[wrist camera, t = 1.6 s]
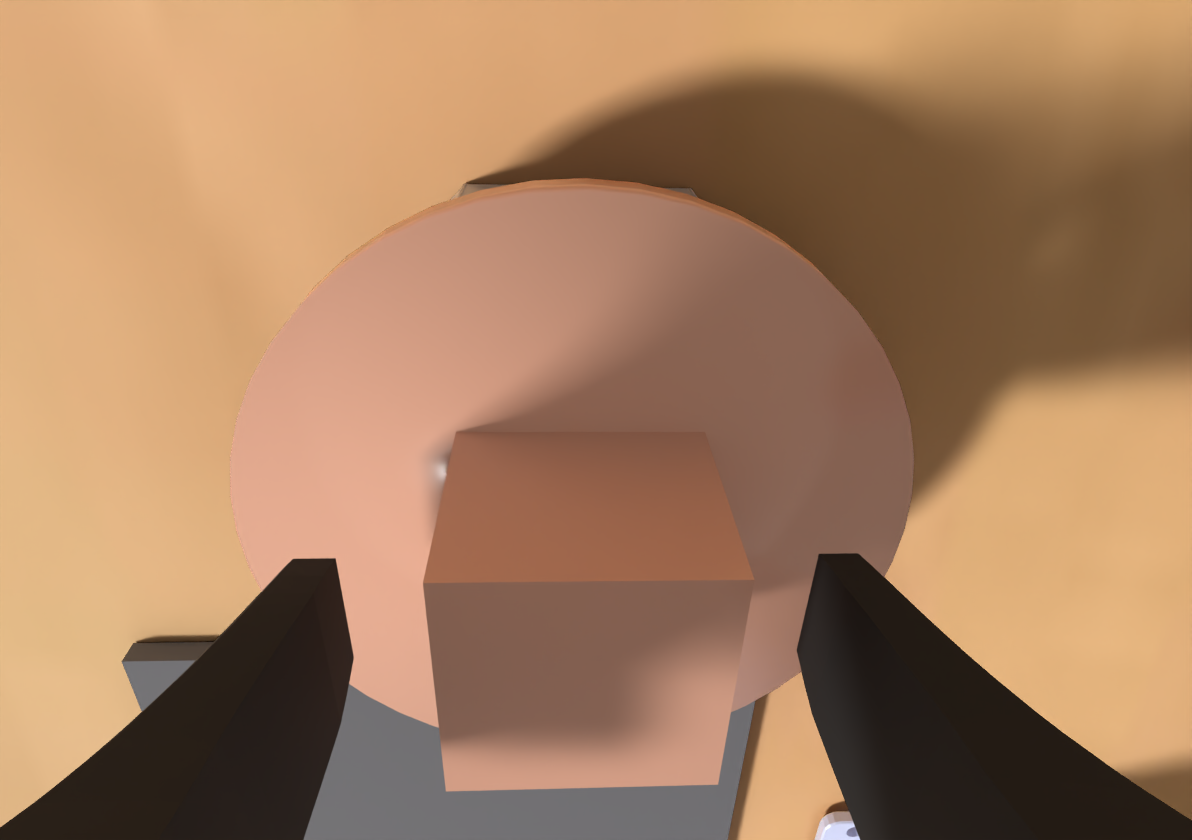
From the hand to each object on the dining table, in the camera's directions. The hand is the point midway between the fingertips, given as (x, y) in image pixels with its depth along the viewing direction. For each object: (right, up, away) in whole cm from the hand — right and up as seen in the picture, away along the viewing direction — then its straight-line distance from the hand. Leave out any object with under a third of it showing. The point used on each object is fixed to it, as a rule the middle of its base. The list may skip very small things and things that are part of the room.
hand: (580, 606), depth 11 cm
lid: (0, +1, +2) cm, 3 cm away
